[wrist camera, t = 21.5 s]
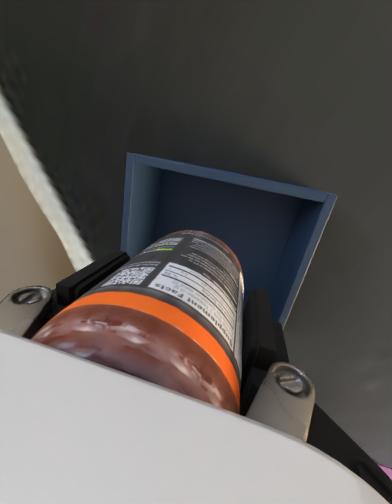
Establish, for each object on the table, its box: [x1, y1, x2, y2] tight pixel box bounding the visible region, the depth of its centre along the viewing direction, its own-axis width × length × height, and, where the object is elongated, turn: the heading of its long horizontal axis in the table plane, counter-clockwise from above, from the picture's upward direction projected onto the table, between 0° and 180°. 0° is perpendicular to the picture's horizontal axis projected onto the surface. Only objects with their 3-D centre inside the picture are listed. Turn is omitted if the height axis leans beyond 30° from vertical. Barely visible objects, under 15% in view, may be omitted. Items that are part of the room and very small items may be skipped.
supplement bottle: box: [30, 230, 244, 414], centre depth 8 cm, size 6×6×11 cm
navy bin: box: [120, 153, 337, 330], centre depth 20 cm, size 14×12×7 cm
